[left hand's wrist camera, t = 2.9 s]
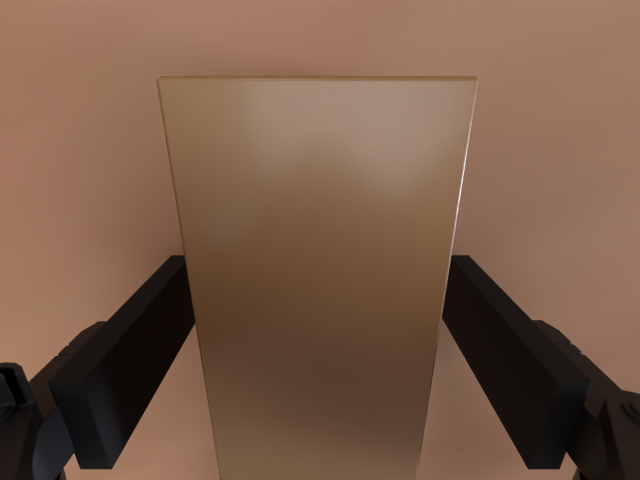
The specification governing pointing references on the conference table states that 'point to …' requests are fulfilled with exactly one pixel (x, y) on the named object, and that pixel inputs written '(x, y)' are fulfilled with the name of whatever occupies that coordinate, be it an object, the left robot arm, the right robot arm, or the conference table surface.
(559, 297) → the conference table surface
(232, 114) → the bar
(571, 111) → the conference table surface
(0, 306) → the conference table surface
